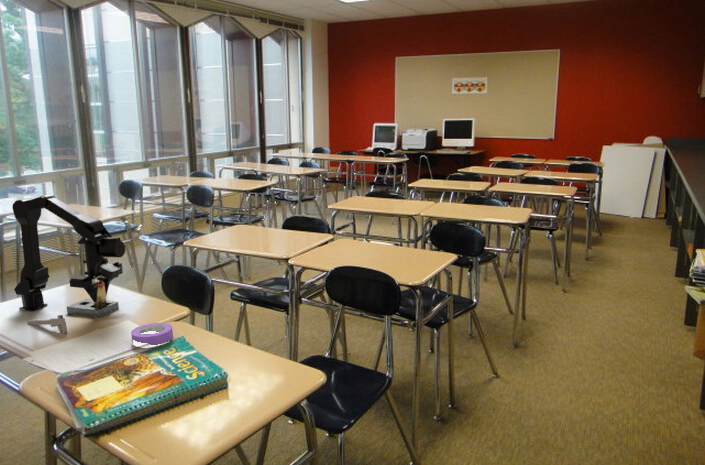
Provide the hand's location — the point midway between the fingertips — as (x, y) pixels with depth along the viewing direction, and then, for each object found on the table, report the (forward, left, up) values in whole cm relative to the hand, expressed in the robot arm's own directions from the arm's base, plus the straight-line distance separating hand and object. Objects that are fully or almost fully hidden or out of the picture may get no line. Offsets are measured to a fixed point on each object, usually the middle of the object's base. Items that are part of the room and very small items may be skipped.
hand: (99, 299), depth 186 cm
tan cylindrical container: (0, 0, -4) cm, 4 cm away
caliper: (-6, -17, -5) cm, 19 cm away
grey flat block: (-3, 0, -5) cm, 6 cm away
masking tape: (+34, -16, -5) cm, 38 cm away
